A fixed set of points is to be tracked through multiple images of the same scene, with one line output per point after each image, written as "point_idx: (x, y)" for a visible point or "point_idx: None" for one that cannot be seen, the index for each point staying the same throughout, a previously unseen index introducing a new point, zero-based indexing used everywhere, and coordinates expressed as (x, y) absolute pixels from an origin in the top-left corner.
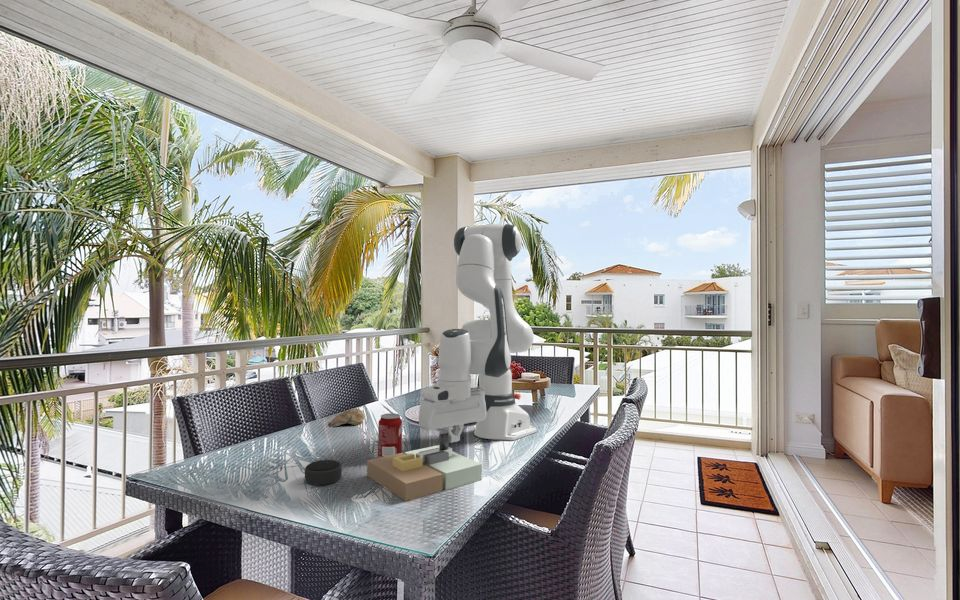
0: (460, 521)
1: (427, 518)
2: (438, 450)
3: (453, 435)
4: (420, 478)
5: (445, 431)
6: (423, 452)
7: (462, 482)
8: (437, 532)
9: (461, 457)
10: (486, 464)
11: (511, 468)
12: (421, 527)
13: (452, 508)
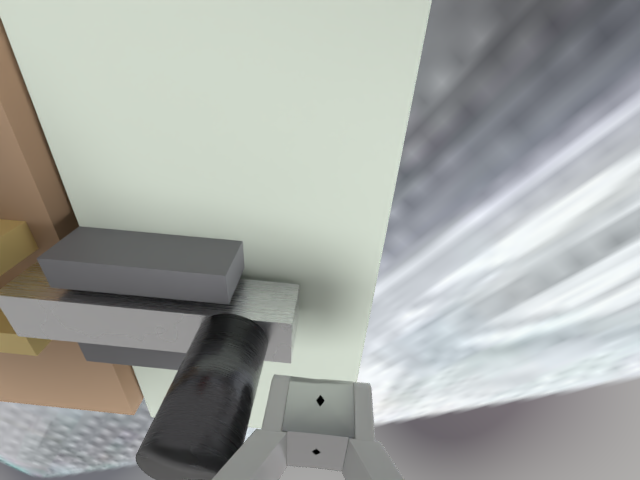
0: (133, 459)
1: (63, 422)
2: (179, 340)
3: (298, 459)
4: (29, 397)
5: (221, 470)
6: (57, 309)
7: None
8: (69, 457)
9: (339, 348)
10: (524, 290)
11: (539, 376)
12: (39, 435)
13: (143, 426)
